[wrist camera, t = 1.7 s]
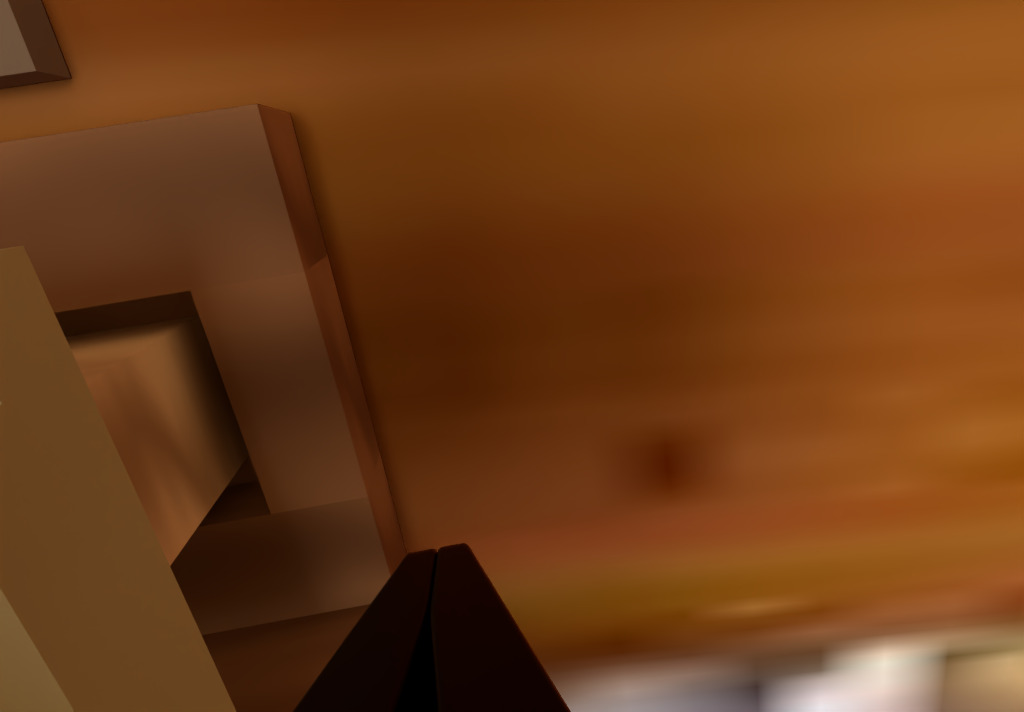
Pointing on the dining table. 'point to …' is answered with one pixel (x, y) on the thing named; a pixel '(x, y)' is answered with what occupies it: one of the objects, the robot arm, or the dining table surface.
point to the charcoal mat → (28, 45)
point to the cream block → (165, 419)
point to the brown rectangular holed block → (229, 365)
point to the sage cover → (79, 542)
